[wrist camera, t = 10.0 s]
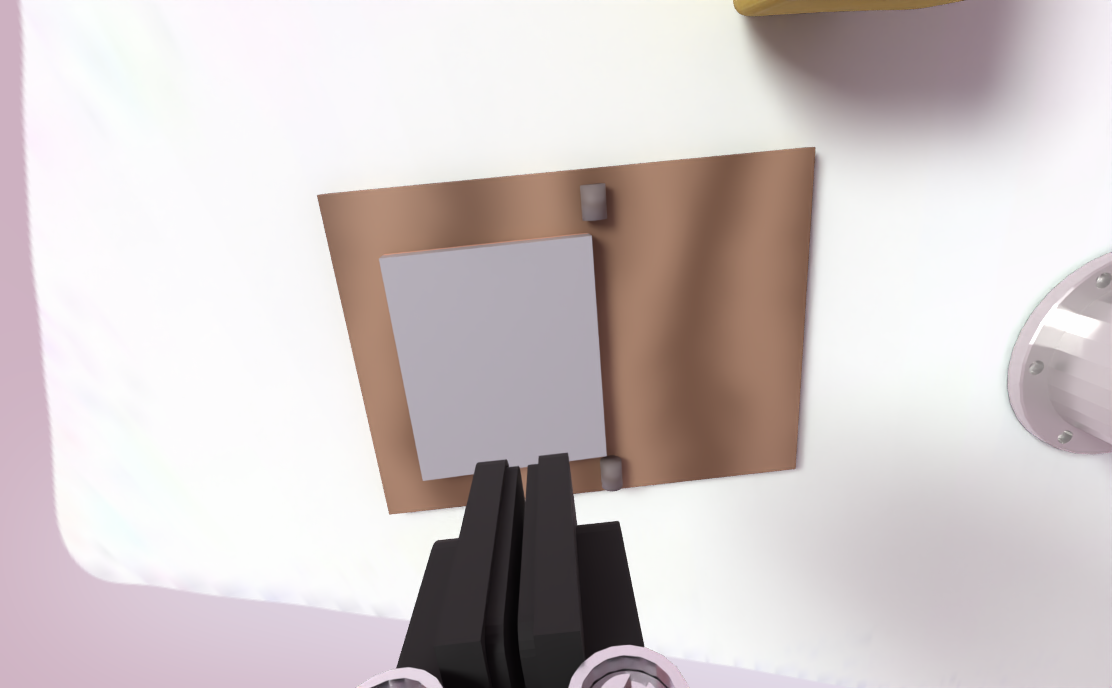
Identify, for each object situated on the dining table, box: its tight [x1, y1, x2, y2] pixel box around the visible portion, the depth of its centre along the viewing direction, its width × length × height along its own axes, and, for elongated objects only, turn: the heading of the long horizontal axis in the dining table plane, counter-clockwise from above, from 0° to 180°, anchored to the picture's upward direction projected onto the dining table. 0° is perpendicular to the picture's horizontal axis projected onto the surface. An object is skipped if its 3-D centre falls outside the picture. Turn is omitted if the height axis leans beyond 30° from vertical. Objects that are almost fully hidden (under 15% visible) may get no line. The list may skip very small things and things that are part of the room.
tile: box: [379, 233, 607, 481], centre depth 28 cm, size 10×12×1 cm
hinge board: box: [317, 147, 815, 514], centre depth 29 cm, size 24×18×2 cm
